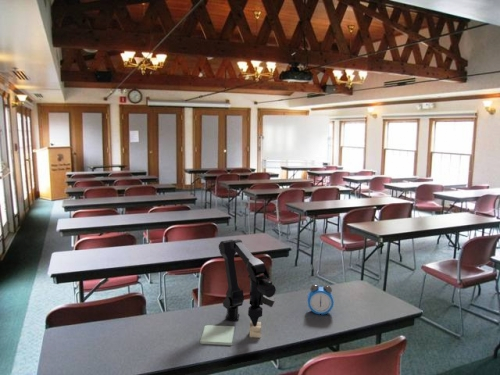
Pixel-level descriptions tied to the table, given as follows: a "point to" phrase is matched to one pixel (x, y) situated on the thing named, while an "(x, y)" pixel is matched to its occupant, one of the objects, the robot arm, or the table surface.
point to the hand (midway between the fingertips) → (255, 321)
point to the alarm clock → (320, 299)
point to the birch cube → (255, 330)
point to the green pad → (217, 335)
